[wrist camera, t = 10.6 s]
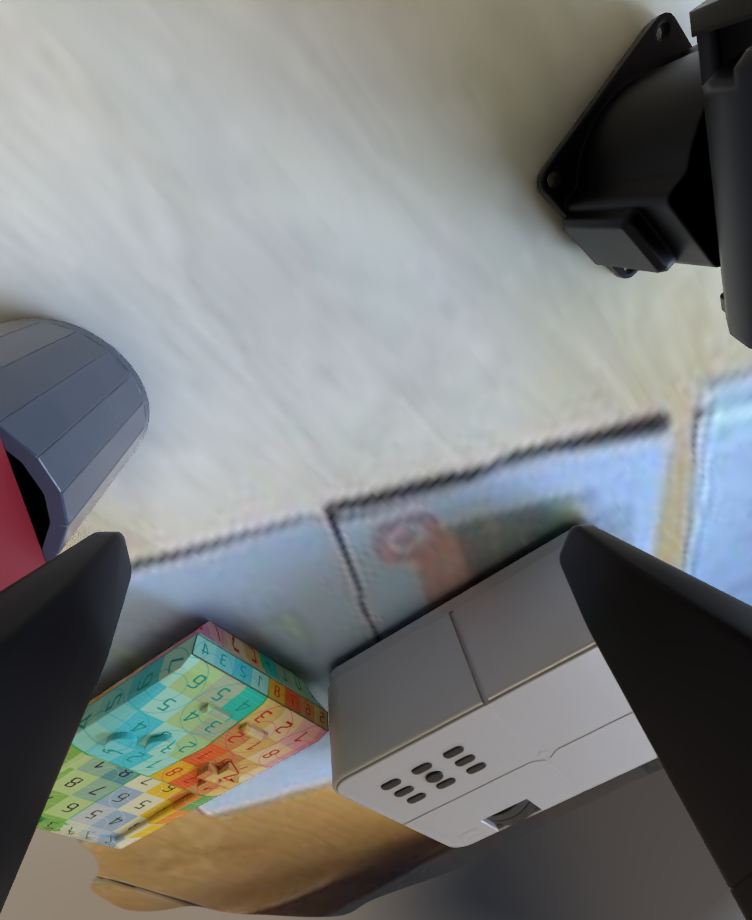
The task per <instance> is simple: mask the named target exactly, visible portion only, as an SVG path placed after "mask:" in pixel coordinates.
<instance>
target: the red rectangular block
mask: <svg viewBox="0 0 752 920" xmlns="http://www.w3.org/2000/svg"><path fill="white" fill-rule="evenodd" d="M45 563H46V561H45V558H44V555H43V553H42V550H41V547H40V545H39V542H38V539H37V536H36V534H35V531H34V528H33V525H32V523H31V520H30V517H29V514H28V512H27V509H26V506H25V503H24V501H23V498H22V495H21V492H20V490H19V487H18V484H17V481H16V479H15V476H14V473H13V470H12V468H11V465H10V462H9V459H8V457H7V454H6V451H5V448H4V446H3V443H2V440H1V438H0V591H2V590H3V589H5V588H6V587H8V586H10V585H11V584H13V583H14V582H16V581H18V580H19V579H21V578H22V577H24V576H26V575H27V574H29V573H30V572H32V571H34V570H35V569H37V568H39V567H40V566H42V565H43V564H45Z"/></svg>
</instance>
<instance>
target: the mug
mask: <svg viewBox="0 0 752 920" xmlns="http://www.w3.org/2000/svg"><path fill="white" fill-rule="evenodd" d="M148 422H149V405H148V400H147V396H146V392H145V390H144V387H143V385H142V383H141V381H140V379H139V377H138V375H137V374H136V372H135V371H134V369H133V368H132V367H131V365H130V364H129V363H128V362H127V361H126V360H125V358H124V357H123V356H122V355H121V354H120V353H118V352H117V351H116V350H115V349H114V348H113V347H112V346H110V345H109V344H107V343H106V342H105V341H103V340H102V339H100V338H99V337H97V336H95V335H93V334H92V333H90V332H88V331H85V330H83V329H81V328H79V327H76V326H73V325H70V324H68V323H64V322H60V321H55V320H49V319H40V318H28V319H19V320H14V321H8V322H4V323H1V324H0V438H1V440H2V443H3V446H4V448H5V451H6V454H7V457H8V459H9V462H10V465H11V468H12V470H13V473H14V476H15V479H16V481H17V484H18V487H19V490H20V492H21V495H22V498H23V501H24V503H25V506H26V509H27V512H28V514H29V517H30V520H31V523H32V525H33V528H34V531H35V534H36V536H37V539H38V542H39V545H40V547H41V550H42V553H43V555H44V558H45V561H46V563H47V562H48V561H50V560H51V559H53V558H55V557H56V556H57V555H58V554H59V553H60V552H61V550H62V549H63V548H64V546H65V545H66V544H67V542H68V541H69V540H70V538H71V537H72V536H73V534H74V533H75V531H76V530H77V529H78V527H79V526H80V525H81V523H82V522H83V521H84V519H85V518H86V517H87V515H88V514H89V513H90V511H91V510H92V509H93V507H94V506H95V504H96V503H97V502H98V500H99V499H100V498H101V496H102V495H103V494H104V492H105V491H106V490H107V488H108V487H109V486H110V484H111V483H112V481H113V480H114V479H115V477H116V476H117V475H118V473H119V472H120V471H121V469H122V468H123V467H124V465H125V464H126V463H127V461H128V460H129V459H130V457H131V456H132V454H133V453H134V452H135V450H136V449H137V448H138V446H139V443H140V442H141V440H142V439H143V437H144V435H145V432H146V430H147V426H148Z"/></svg>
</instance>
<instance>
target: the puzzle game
mask: <svg viewBox="0 0 752 920" xmlns="http://www.w3.org/2000/svg"><path fill="white" fill-rule="evenodd" d="M328 731H329V729H328V712H327V711H326V710H325V709H324V708H323V707H322V706H321V705H320V704H319V702H318V701H317V700H316V699H315V698H314V696H313V695H312V694H311V692H310V691H309V690H308V688H307V687H306V685H305V684H304V683H303V681H302V680H301V678H299V677H298V676H296V675H295V674H293V673H291V672H290V671H288V670H287V669H285V668H284V667H282V666H280V665H279V664H277V663H276V662H274V661H272V660H271V659H269V658H268V657H266V656H265V655H263V654H261V653H260V652H258V651H257V650H255V649H253V648H252V647H250V646H249V645H247V644H246V643H244V642H242V641H241V640H239V639H238V638H236V637H234V636H233V635H231V634H230V633H228V632H226V631H225V630H223V629H222V628H220V627H219V626H217V625H215V624H214V623H212V622H211V621H208V622H207V623H205V624H204V625H202V626H201V627H199V628H198V629H196V630H195V631H193V632H192V633H190V634H189V635H187V636H186V637H184V638H183V639H182V640H180V641H179V642H177V643H176V644H174V645H173V646H171V647H170V648H168V649H167V650H165V651H164V652H162V653H161V654H159V655H158V656H156V657H155V658H153V659H152V660H150V661H149V662H147V663H146V664H144V665H143V666H141V667H140V668H138V669H137V670H135V671H134V672H132V673H131V674H129V675H128V676H126V677H125V678H123V679H122V680H120V681H119V682H117V683H116V684H114V685H113V686H111V687H110V688H108V689H107V690H105V691H104V692H102V693H101V694H99V695H98V696H97V697H95V698H94V699H92V700H91V701H89V703H88V706H87V708H86V711H85V713H84V715H83V718H82V720H81V722H80V725H79V727H78V730H77V732H76V734H75V737H74V739H73V741H72V744H71V746H70V749H69V751H68V753H67V756H66V758H65V761H64V763H63V765H62V768H61V770H60V772H59V775H58V777H57V780H56V782H55V784H54V787H53V789H52V791H51V794H50V796H49V799H48V801H47V803H46V806H45V808H44V811H43V813H42V815H41V818H40V820H39V822H38V825H37V827H36V828H38V829H42V830H46V831H50V832H54V833H58V834H62V835H66V836H70V837H74V838H77V839H81V840H85V841H89V842H93V843H97V844H101V845H105V846H109V847H113V848H117V849H122V848H124V847H125V846H127V845H129V844H131V843H133V842H135V841H136V840H138V839H140V838H142V837H144V836H146V835H147V834H149V833H151V832H153V831H155V830H157V829H158V828H160V827H162V826H164V825H166V824H168V823H169V822H171V821H173V820H175V819H177V818H178V817H180V816H182V815H184V814H186V813H188V812H189V811H191V810H193V809H195V808H197V807H199V806H200V805H202V804H204V803H206V802H208V801H210V800H211V799H213V798H215V797H217V796H219V795H221V794H222V793H224V792H226V791H228V790H230V789H232V788H233V787H235V786H237V785H239V784H241V783H242V782H244V781H246V780H248V779H250V778H252V777H253V776H255V775H257V774H259V773H261V772H263V771H264V770H266V769H268V768H270V767H272V766H274V765H275V764H277V763H279V762H281V761H283V760H285V759H286V758H288V757H290V756H292V755H294V754H296V753H297V752H299V751H301V750H303V749H305V748H307V747H308V746H310V745H312V744H314V743H316V742H317V741H319V740H320V739H321V738H322V737H323V736H324V735H325V734H326V733H327V732H328Z"/></svg>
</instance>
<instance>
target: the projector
mask: <svg viewBox="0 0 752 920" xmlns="http://www.w3.org/2000/svg"><path fill="white" fill-rule="evenodd" d="M582 525H591V524H582ZM592 526H594V525H592ZM595 527H596V526H595ZM568 532H569V530H568V531H566V532H565V533H563V534H561V535H560V536H558V537H556V538H554V539H553V540H551V541H549V542H548V543H546V544H544V545H543V546H541V547H539V548H538V549H536V550H534V551H532V552H531V553H529V554H527V555H526V556H524V557H522V558H521V559H519V560H517V561H515V562H514V563H512V564H510V565H509V566H507V567H505V568H504V569H502V570H500V571H499V572H497V573H495V574H493V575H492V576H490V577H488V578H487V579H485V580H483V581H482V582H480V583H478V584H477V585H475V586H473V587H471V588H470V589H468V590H466V591H465V592H463V593H461V594H460V595H458V596H456V597H454V598H453V599H451V600H449V601H448V602H446V603H444V604H443V605H441V606H439V607H438V608H436V609H434V610H432V611H431V612H429V613H427V614H426V615H424V616H422V617H421V618H419V619H417V620H416V621H414V622H412V623H410V624H409V625H407V626H405V627H404V628H402V629H400V630H399V631H397V632H395V633H394V634H392V635H390V636H388V637H387V638H385V639H383V640H382V641H380V642H378V643H377V644H375V645H373V646H371V647H370V648H368V649H366V650H365V651H363V652H361V653H360V654H358V655H356V656H355V657H353V658H351V659H349V660H348V661H346V662H344V663H343V664H341V665H339V666H338V667H336V668H335V669H334V670H333V671H332V672H331V674H330V685H329V687H328V706H329V725H330V744H331V763H332V782H333V789H334V790H335V792H336V793H338V794H339V795H341V796H343V797H345V798H347V799H349V800H352V801H354V802H356V803H358V804H360V805H362V806H364V807H366V808H369V809H371V810H373V811H375V812H377V813H379V814H381V815H384V816H386V817H388V818H390V819H392V820H394V821H396V822H398V823H401V824H403V825H405V826H407V827H409V828H411V829H413V830H415V831H418V832H420V833H422V834H424V835H426V836H428V837H430V838H433V839H435V840H437V841H439V842H441V843H443V844H445V845H447V846H450V847H463V846H467V845H470V844H472V843H474V842H477V841H479V840H481V839H483V838H485V837H487V836H489V835H492V834H494V833H496V832H498V831H500V830H502V829H504V828H507V827H509V826H511V825H514V824H517V823H520V822H522V821H523V820H525V819H527V818H528V817H530V816H532V815H535V814H537V813H539V812H541V811H543V810H545V809H547V808H550V807H552V806H554V805H556V804H558V803H560V802H563V801H565V800H567V799H569V798H571V797H573V796H575V795H578V794H580V793H582V792H583V791H585V790H588V789H591V788H593V787H595V786H597V785H599V784H601V783H603V782H606V781H608V780H610V779H612V778H614V777H616V776H618V775H621V774H623V773H625V772H627V771H629V770H631V769H634V768H636V767H638V766H640V765H642V764H644V763H646V762H649V761H651V760H653V759H655V758H657V755H656V753H655V751H654V749H653V747H652V746H651V744H650V742H649V740H648V738H647V736H646V735H645V733H644V731H643V729H642V727H641V725H640V724H639V722H638V720H637V718H636V716H635V714H634V713H633V711H632V709H631V707H630V705H629V703H628V702H627V700H626V698H625V696H624V694H623V692H622V691H621V689H620V687H619V685H618V683H617V681H616V680H615V678H614V676H613V674H612V672H611V670H610V669H609V667H608V665H607V663H606V661H605V659H604V658H603V656H602V654H601V652H600V650H599V648H598V647H597V645H596V643H595V641H594V639H593V637H592V635H591V633H590V631H589V630H588V628H587V625H586V623H585V621H584V619H583V617H582V614H581V612H580V610H579V607H578V605H577V603H576V600H575V598H574V596H573V593H572V591H571V589H570V586H569V584H568V582H567V579H566V577H565V575H564V572H563V570H562V568H561V565H560V561H559V556H560V552H561V549H562V547H563V544H564V542H565V540H566V537H567V535H568Z"/></svg>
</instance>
